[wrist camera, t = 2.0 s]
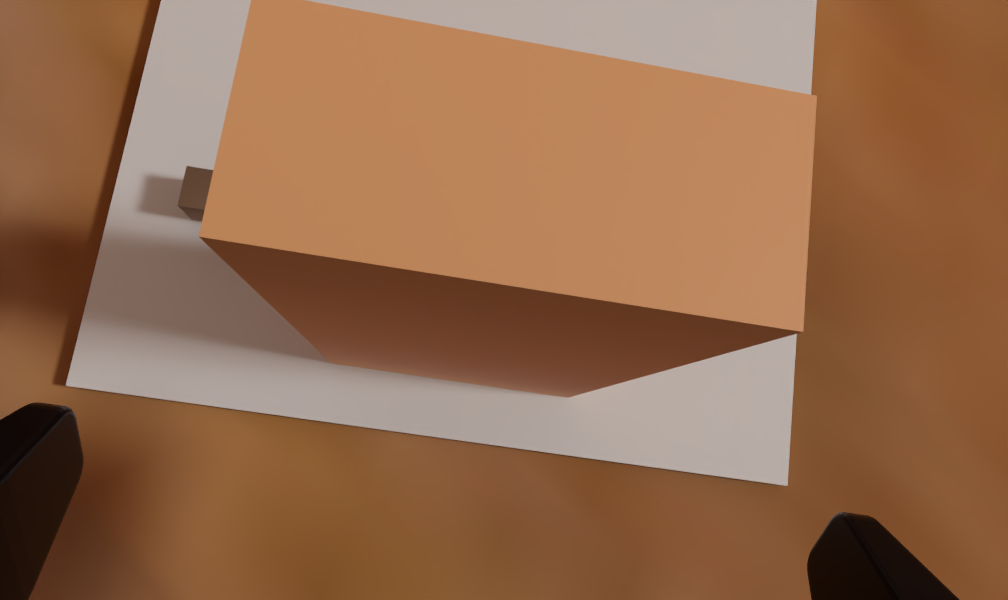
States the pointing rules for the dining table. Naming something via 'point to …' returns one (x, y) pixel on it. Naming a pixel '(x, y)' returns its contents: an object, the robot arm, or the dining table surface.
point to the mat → (394, 396)
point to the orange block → (506, 202)
